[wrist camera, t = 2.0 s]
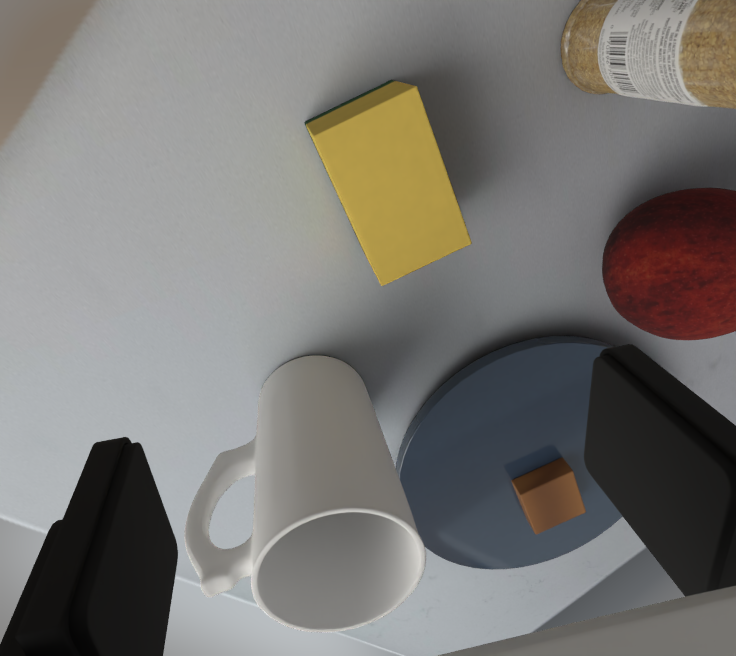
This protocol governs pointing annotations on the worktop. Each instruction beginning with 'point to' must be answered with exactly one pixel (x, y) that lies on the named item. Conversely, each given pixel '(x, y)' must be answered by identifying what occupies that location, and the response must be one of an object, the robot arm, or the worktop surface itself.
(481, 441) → the plate
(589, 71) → the sprinkles bottle
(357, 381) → the mug
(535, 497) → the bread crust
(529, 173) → the worktop surface
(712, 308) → the apple
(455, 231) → the sponge
